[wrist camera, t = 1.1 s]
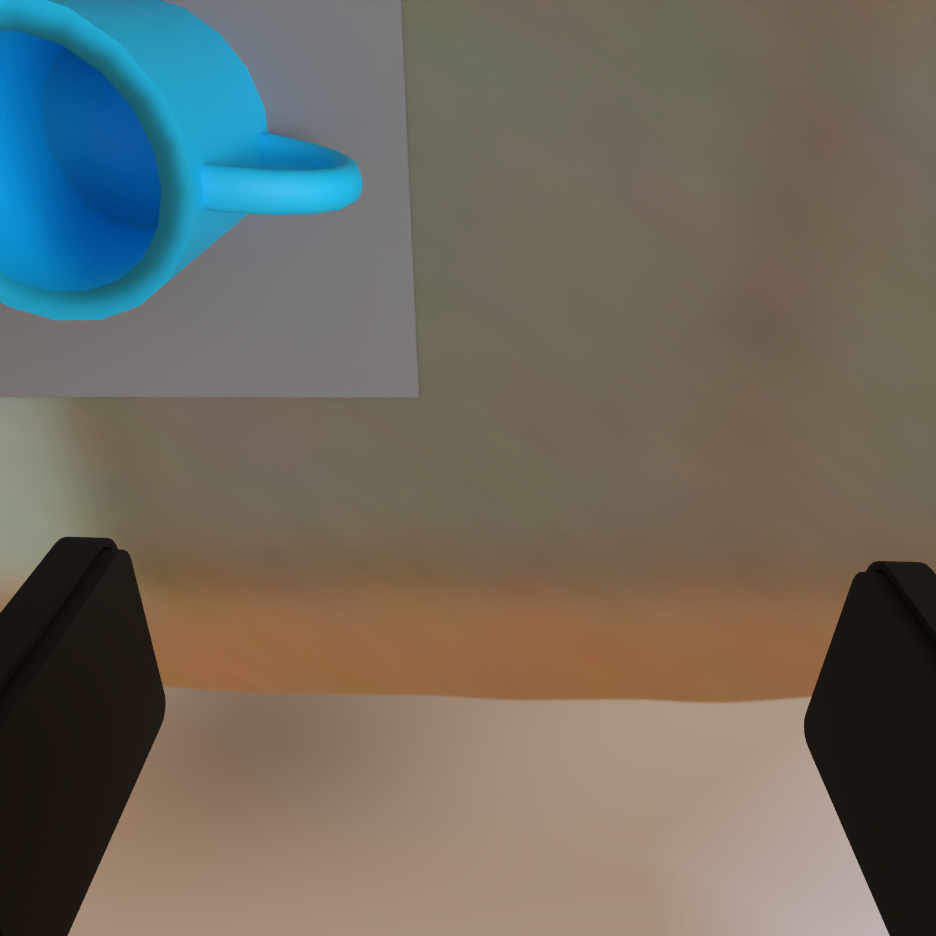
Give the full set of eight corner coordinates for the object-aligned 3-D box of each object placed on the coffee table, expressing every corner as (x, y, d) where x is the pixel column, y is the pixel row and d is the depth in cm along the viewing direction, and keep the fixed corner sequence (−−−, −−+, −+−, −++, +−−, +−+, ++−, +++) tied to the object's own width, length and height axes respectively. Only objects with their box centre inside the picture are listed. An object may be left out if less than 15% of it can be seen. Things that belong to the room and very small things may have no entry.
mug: (49, 229, 29) (-91, 299, 22) (16, -27, 25) (-169, -41, 18) (369, 276, 30) (332, 359, 23) (388, 34, 26) (351, 43, 19)
